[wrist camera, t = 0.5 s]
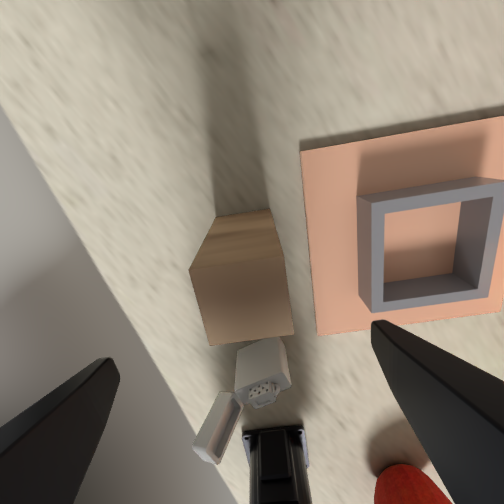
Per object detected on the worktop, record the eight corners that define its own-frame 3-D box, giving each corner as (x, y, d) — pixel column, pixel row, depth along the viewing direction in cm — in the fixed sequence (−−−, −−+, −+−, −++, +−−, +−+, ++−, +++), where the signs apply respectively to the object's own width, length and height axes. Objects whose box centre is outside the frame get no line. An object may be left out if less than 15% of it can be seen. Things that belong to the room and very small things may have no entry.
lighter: (277, 332, 23) (289, 420, 16) (285, 346, 24) (301, 437, 16) (208, 362, 24) (189, 456, 17) (217, 375, 25) (203, 471, 18)
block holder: (495, 308, 22) (529, 331, 19) (316, 332, 23) (325, 357, 20) (535, 109, 17) (591, 102, 14) (299, 151, 18) (308, 152, 15)
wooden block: (277, 258, 21) (294, 334, 12) (226, 266, 21) (209, 345, 12) (269, 208, 19) (283, 255, 11) (215, 217, 19) (188, 270, 11)
